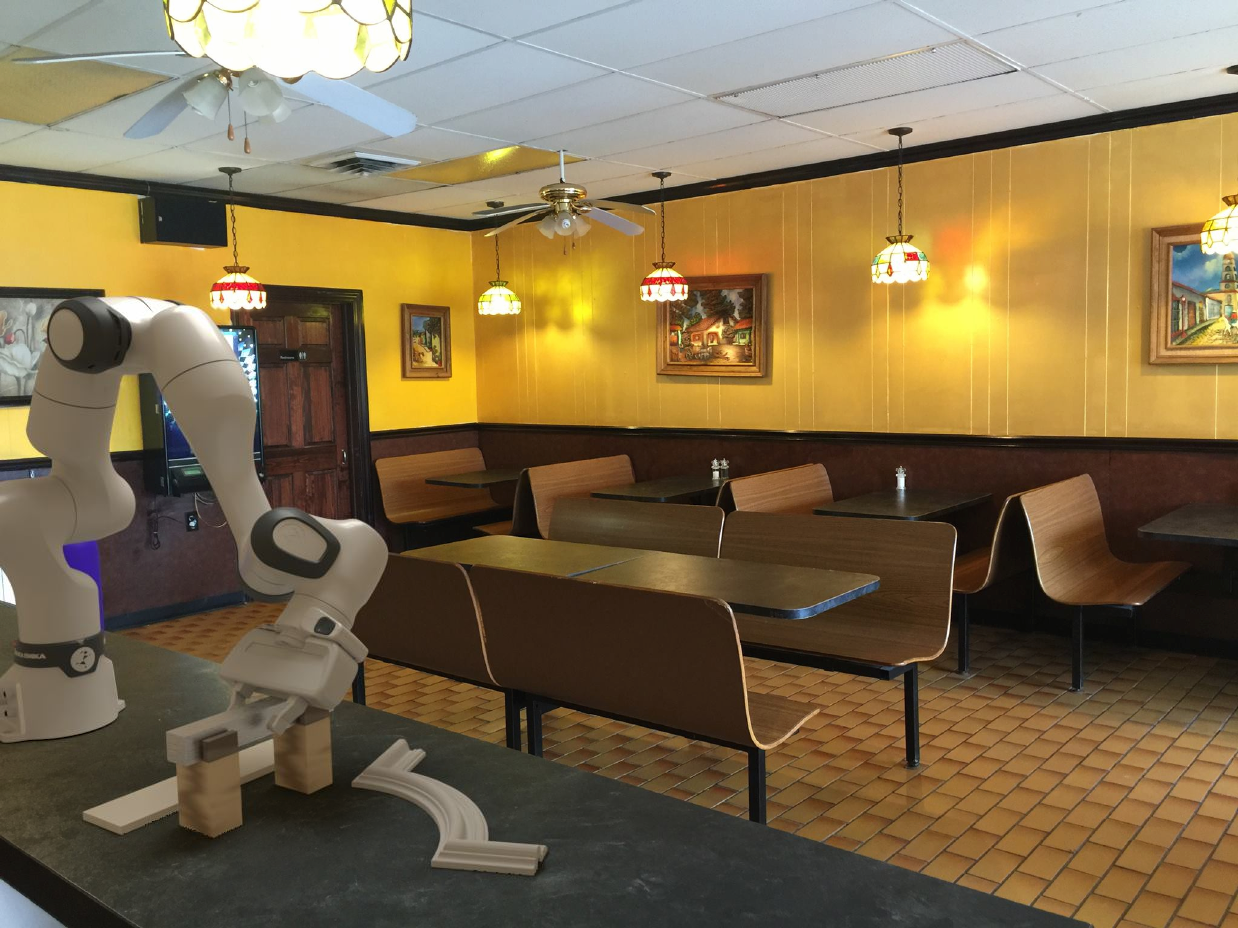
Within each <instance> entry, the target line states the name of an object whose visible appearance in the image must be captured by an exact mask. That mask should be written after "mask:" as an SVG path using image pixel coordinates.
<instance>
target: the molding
mask: <svg viewBox="0 0 1238 928" xmlns="http://www.w3.org/2000/svg"><path fill="white" fill-rule="evenodd" d="M426 753H427V752H426V751H424V750H423V749H422V748H418V749H417V748H415V749H412V750H411V749H410V747H409V744H408V742H407V740H406V739H404V738H399V739H398V740H397V741H396V742H394V743H393V744H392V745H391V746H390V747H388V749H386V750H384V752H383V753H382V754H381V755H380V756H378V757H377V758H376V759H374V761H372V763H371V764H369V765H368V766H367V767H366V768H365V769H364V770H363V771H362V772H360V774H359V775H358V776H356V777H355V778H354V779H352V781H351V787H352V788H359V789H365V790H372V791H377V792H381V793H387V794H390V795H393V796H396V797H399V798H402V799H404V800H406V801H409V802H410V803H413V804H415V805H417V806H418V807H420V808H421V809H422V810H424V811H425V812H426V813H427V814H428V815H429V816H430V817H431V818H432V819H433V821H434V822H435V824H436V825H437V829H438V830H439V836H440V837H439V838H440V839H439V843H438V846H437V849H436V850H435V854H434V855H433V857H432V858H431V860H430V867H431V868H438V869H440V868H441V869H450V870H452V869H453V870H462V869H463V871H473V870H477V871H476V872H484V871H486V873H496V872H498V873H497V874H508V873H511V874H510V875H519V874H521V876H530V877H531V876H535V873H536V872H537V871H536V870H538V865H539V864H538V863H539V862H543V860H544V858H545V857H546V854H547V853H548V846H547V845H543V844H542V845H541V844H531V843H530V844H529V843H519V842H518V843H517V842H506V841H494V840H492V841H491V840H489V839H490V838H489V827H488V824H487V820H486V818H485V816H484V815H483V812H482V811H481V810H480V808H479V807H478V805H477V804H476V803H475V802H474V801H472V800H471V799H470V798H469V797H468V796H467V795H465V794H464V793H462V792H461V791H460V790H458V789H456V788H454V787H452V786H451V785H448V784H447V783H444V782H442V781H440V780H438V779H435V778H431V777H430V776H425V775H423V774H419V773H416V772H411V771H412V770H414V768H415V767H416V766H417V765H419V763H420V762H422V761H423V759H424V758H425V757H426V756H427V754H426ZM513 873H514V874H513Z"/></svg>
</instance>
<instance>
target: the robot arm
mask: <svg viewBox="0 0 1238 928" xmlns="http://www.w3.org/2000/svg"><path fill="white" fill-rule="evenodd" d="M46 338H47V343H46V346H45V348H44V351H43V353H42V356H41V358H40V362H39V364H38V369H37V371H36V377H35V381H34V385H33V391H32V397H31V401H30V406H29V410H28V411H29V412H28V417H27V422H26V426H25V433H26V437H27V439H28V441H29V443H30V445H31V446H32V447H33V449H35V450H36V451H37V452H39V453H40V454H42V455H43V456H45V457H47V458H48V459H51V469H50V472H49V473H48V475H44V476H39V477H28V478H18V479H16V478H15V479H8V480H4V481H2V480H1V481H0V569H1V570H2V572H3V573H4V575H5V577H6V578H7V580H8V582H9V584H10V587H11V588H12V589H11V590H12V593H13V596H14V601H15V608H16V614H17V615H16V616H17V624H18V637H19V638H18V639H16V640H12V643H16V644H15V645H13V646H12V648H14V651H13V653H14V656H13V662H14V663H13V664H12V665H11V666H10V667H9V669H7V671H5V673H4V674H2V676H1V677H0V741H1V742H2V743H15V742H22V741H29V740H45V739H48V740H49V739H57V738H64V737H70V736H74V735H75V736H76V735H79V734H84V733H87V732H91V731H93V730H97V729H99V728H103V727H105V726H106V725H109V724H110V723H112V722H114V721H115V720H116V719H117V718H118V716H119V712H121V711H122V710H123V709H125V708H126V703H125V700H124V699H119V697H118V689H117V684H116V678H115V676H116V675H115V670H114V665H113V661H112V660H111V659H110V658H109V657H107V656H105V653H106V637H104V636H105V630H104V631H103V630H102V629H101V628H100V612H99V596H98V587H97V584H96V583H95V581H94V580H93V579H92V578H91V577H90V576H89V575H87V574H85V573H83V572H81V571H78V570H76V569H73V568H70V567H69V565H68V564H67V562H66V560H65V557H64V554H63V546H64V545H70V544H76V543H82V542H88V541H94V540H96V541H99V540H102V539H104V538H106V537H108V536H111V535H114V534H116V533H119V532H121V531H123V530H125V529H126V528H128V527H129V526H130V524H131V523H132V520H133V519H134V516H135V512H136V497H135V493H134V491H133V489H132V488H131V485H130V484H129V483H128V482H127V481H126V480H125V479H124V478H123V477H122V476H120V475H119V474H118V473H117V471H116V470H115V468H114V466H113V463H112V458H111V453H110V452H111V451H110V449H111V447H110V445H111V437H112V432H113V426H114V420H115V414H116V409H117V404H118V400H119V399H118V398H119V394H120V388H121V382H122V379H123V377H124V376H126V375H127V376H135V375H139V374H148V373H149V374H150V373H151V375H152V376H153V378H154V381H155V384H156V386H157V387H158V390H159V392H160V394H161V396H162V398H163V400H164V403H165V405H166V406H167V408H168V410H169V412H170V413H171V416H172V418H173V420H174V421H175V423H176V425H177V426H178V428H179V430H180V432H181V433H182V435H183V437H184V438H185V440H186V442H187V444H188V446H189V447H190V449H191V450H192V453H193V454H194V456H195V458H196V460H197V462H198V463H199V465H200V467H201V468H202V470H203V472H204V474H205V477H206V479H207V480H208V483H209V485H210V489H211V490H212V493H213V495H214V497H215V499H216V502H217V504H218V507H219V509H220V510H221V514H222V516H223V518H224V520H225V522H226V525H227V527H228V530H229V533H230V534H231V537H232V539H233V544H234V549H235V551H234V552H235V556H234V557H235V558H234V559H235V561H234V563H235V564H234V570H235V573H234V574H235V577H236V581H237V583H238V585H239V587H240V589H241V590H242V591H243V592H244V593H245V594H246V595H247V596H248V597H250V598H251V599H253V600H254V601H258V602H260V603H263V604H269V605H273V604H275V605H276V604H281V603H286V602H287V604H286V605H285V607H284V609H283V610H282V612H281V614H279V616H278V618H277V619H276V621H275V623H274V624H272V623H268V622H267V623H266V622H265V623H262V624H261V625H259V626H257V627H256V628H255V627H254V628H253V629H251V630H250V631H248V632H247V633H246V634H245V635H244V636H243V637H242V638H240V640H239V641H238V642H237V643H236V645H235V646H234V647H233V648H232V649H231V650H230V652H229V653H228V654H227V655H226V657H225V658H224V660H223V661H222V662H221V664H220V666H219V668H218V677H219V678H220V679H221V680H222V681H224V682H225V683H226V684H227V685H229V686H231V687H232V690H231V695H230V701H229V706H228V707H227V708H226V710H225V711H228V710H231V709H234V708H237V707H240V706H243V705H246V701H247V700H250V699H251V698H252V695H253V694H254V693H255V694H259V695H263V696H267V697H269V696H271V697H275V698H280V699H284V700H287V704H288V705H287V706H286V707H285V708H284V709H283V710H282V711H281V712H280V713H279V714H278V715H272V716H271V718H270V721H269V722H268V723H267V725H266V728H267V729H268V730H270V731H271V732H272V733H275V734H279V735H281V734H283V733H284V731H285V729H286V728H287V726H288V724H289V723H291V722H292V721H293V720H295V719H296V718H297V717H299V716H300V715H301V714H302V713H304V711H305V709H306V708H307V706H308V705H309V706H313V707H317V708H322V709H326V710H331V709H333V708H334V709H335V708H336V707H337V706H338V705H340V704H341V702H342V701H343V699H344V698H345V696H346V694H347V693H348V691H349V689H350V688H351V686H352V684H353V682H354V680H355V679H356V676H357V673H358V670H359V663H360V664H361V663H362V662H363V661H364V660H365V659H366V658H367V656H368V654H369V649H368V648H367V647H366V645H364V643H363V642H362V641H361V640H359V638H358V637H356V635H355V634H354V633H353V632H352V631H351V629H352V628H353V626H354V624H355V619H356V616H357V614H358V612H359V611H360V609H362V607H363V606H365V605H366V604H367V602H368V600H370V597H372V594H373V593H374V591H375V589H376V587H377V585H378V583H379V582H380V580H381V577H382V575H383V573H384V571H385V569H386V566H387V563H388V558H389V550H388V546H387V543H386V542H385V540H384V538H383V536H382V535H381V534H380V533H379V532H378V531H377V530H376V529H375V528H374V527H372V526H371V525H369V524H368V523H367V522H364V521H362V520H360V519H357V518H348V519H331V518H324V517H321V516H317V515H313V514H310V513H308V512H306V511H304V510H302V509H299V508H297V507H292V506H279V507H276V508H273V509H272V507H271V505H270V502H269V500H268V498H267V496H266V494H265V491H264V489H263V486H262V484H261V482H260V480H259V477H258V474H257V469H256V464H255V459H254V458H255V457H254V441H255V440H254V439H255V432H256V423H257V414H258V413H257V411H258V410H257V405H256V401H255V397H254V394H253V391H252V386H251V384H250V382H249V378H248V377H247V374H246V372H245V370H244V368H243V367H242V364H241V363H240V360H239V359H238V357H237V355H236V353H235V351H234V350H233V348H232V346H231V345H230V343H229V341H228V340H227V338H226V337H225V335H224V333H222V331H221V330H220V328H219V327H218V326H217V324H216V323H215V322H214V321H213V319H212V318H211V317H210V316H209V314H207V312H205V311H204V310H203V309H200V308H199V307H196V306H193V305H188V304H185V303H182V302H181V301H176V300H172V299H157V298H153V297H152V298H151V297H146V296H145V297H144V296H136V295H127V296H126V295H125V296H104V297H95V296H92V295H85V296H79V297H73V298H69V299H68V298H67V299H65V300H63V301H61V302H60V303H58V304H57V305H56V306H55V307H54V309H53V310H52V311H51V313H50V317H49V319H48V322H47V326H46Z"/></svg>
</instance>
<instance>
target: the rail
mask: <svg viewBox="0 0 1238 928" xmlns="http://www.w3.org/2000/svg"><path fill="white" fill-rule="evenodd" d="M287 705H288V704H287V700H284V699H280V698H275V697H271V696H267V697H264V698H261V699H257V700H254V701H252V702H249V703H245V705H243V706H240V707H237V708H234V709H231V710H228V711H226V710H225V711H222V712H221V713H217V714H214V715H211V716H208V717H205V718H202V719H199V720H197V721H194V722H191V723H187V724H185V725H182V726H179V727H175V728H173V729H170V730H167V731H166V732H165V740H166V758H167V762H170V763H173V764H175V765H176V764H179V765H182V766H185V767H187V766H189V765H192V764H195V763H197V762H200V761H202V760H204V759H203V740H206V739H209V738H211V737H214V736H217V735H220V734H222V733H225V732H228V731H231V730H234V731H237V733H238V748H239V747H242V746H244V745H247V744H249V743H251V742H252V743H253V742H255V741H258V740H260V739H263V738H265V737H268V736H271V735H273V733H272V732H271V731H270V730H268V729H267V728H266V725H267V723H268V722H269V721H270V718H271V716H272V715H278V714H279V713H280V712H281V711H282V710H283V709H284V708H285V707H286V706H287ZM334 709H335V707H334V708H333V709H331V710H329V713H330V712H333V711H335V710H334ZM297 724H300V717H297V718H296V719H295V720H293V721H292V722H291V723H289V724H288V726H287V728H289V727H292V726H294V725H297Z"/></svg>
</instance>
